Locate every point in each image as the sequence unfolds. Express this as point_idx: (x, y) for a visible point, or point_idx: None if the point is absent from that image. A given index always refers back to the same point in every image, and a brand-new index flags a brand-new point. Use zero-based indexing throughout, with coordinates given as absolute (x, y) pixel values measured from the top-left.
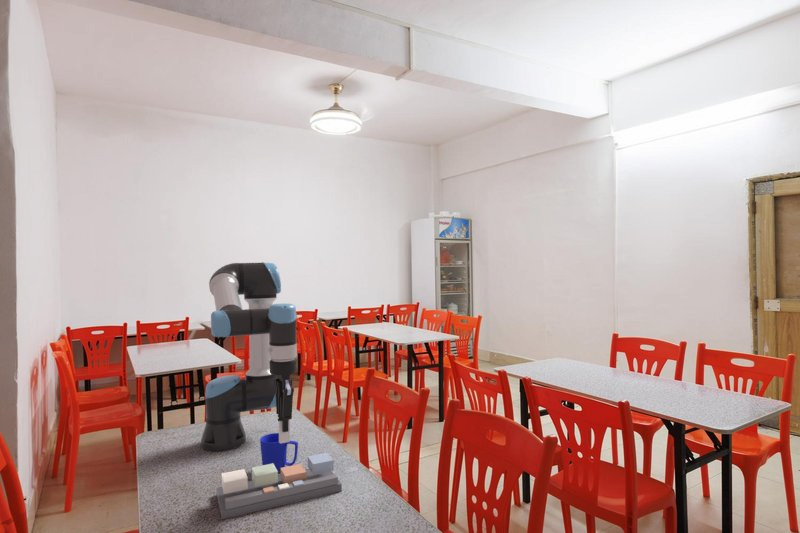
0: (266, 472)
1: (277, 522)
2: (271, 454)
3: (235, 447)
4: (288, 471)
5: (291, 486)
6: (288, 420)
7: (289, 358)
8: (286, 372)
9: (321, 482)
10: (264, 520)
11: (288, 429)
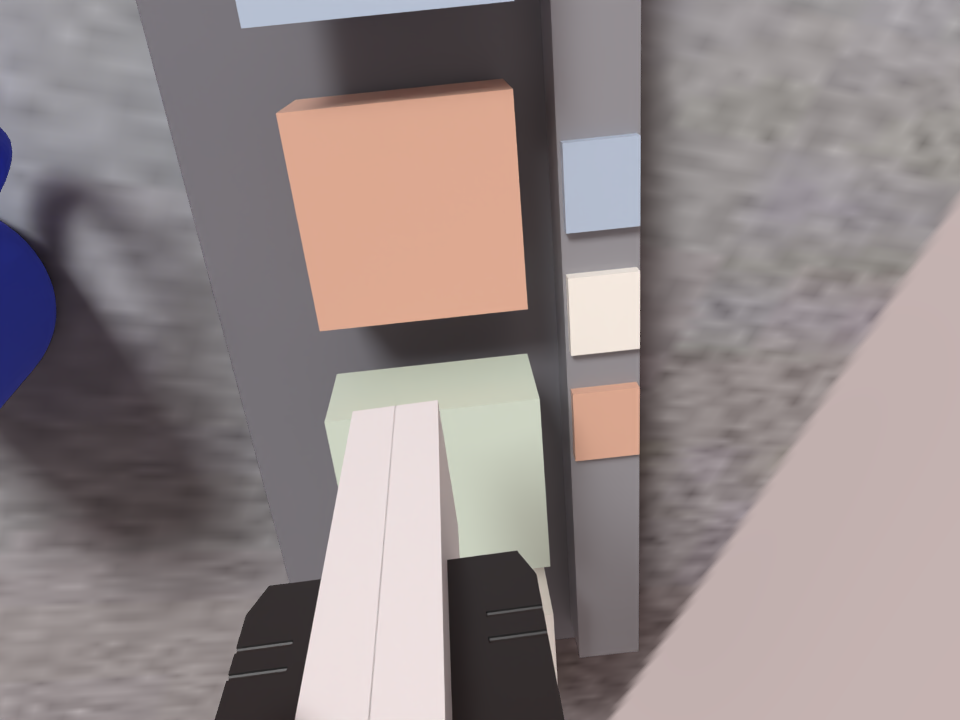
0: (514, 487)
1: (821, 333)
2: None
3: None
4: (430, 268)
5: (619, 247)
6: (449, 717)
7: None
8: None
9: None
10: (753, 401)
11: (440, 549)
